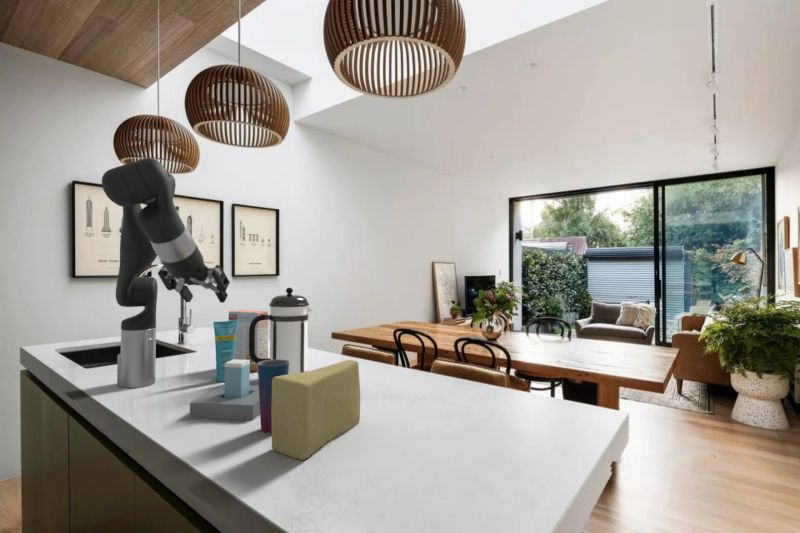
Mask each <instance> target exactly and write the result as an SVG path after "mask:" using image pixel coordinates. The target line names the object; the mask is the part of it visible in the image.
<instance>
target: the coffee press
mask: <svg viewBox="0 0 800 533" xmlns="http://www.w3.org/2000/svg"><path fill="white" fill-rule="evenodd" d="M293 292H294V290H293V288H292V287H287V288H286V290H285V293H286V294H283V295H276V296H274V297H272V299H271V301H270V303H269V308H270V314H268V315H260V316H257V317H255V318H254V319H253V320H252V322H251V324H250V328H249V355H250V358H251V359H252V360H253V361H254V362H255V363H259V362H261V361H265V360H273V359H281V360H287V361H289V371H288V374H295V373H302V372H307V369H308V320H309V312H314V310H313V308H312V307H311V305H310V303H309V302H308V299H307V298H306V297H305V296H303V295H298V294H297V295H296V294H293ZM261 320H268V321H269V325H270V328H269V329H270V330H269V334H270V336H269V342H270V343H269V357H268V359H261V358H258V357H257V356H256V354H255V326H256V324H257V323H258V322H259V321H261Z"/></svg>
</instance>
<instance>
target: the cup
mask: <svg viewBox="0 0 800 533" xmlns="http://www.w3.org/2000/svg"><path fill="white" fill-rule="evenodd" d="M288 371H289V361H287V360H281V359H273V360H265V361H261V362H259V363H258V371H257V376H258V377H257V379H258V386H259V400H260V415H259V416H260V431H261V432H262V434H268V433H271V434H272V424H271V404H272V379H273V378H274V377H277V376H282V375H288Z"/></svg>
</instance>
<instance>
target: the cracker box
mask: <svg viewBox="0 0 800 533" xmlns="http://www.w3.org/2000/svg"><path fill="white" fill-rule="evenodd" d="M260 315H269V311H265V310H263V311H262V310H248V309H247V310H246V309H245V310H244V309H236V310H229V311H228V321H232V320H238V323H237V330H236V340H235V352H234V359H238V360H250V372H255V373H256V372H257V373H258V363H255V362H254V361H253V360H252V359H251V358H250V355H249V328H250V324H251V322H252V320H253V319H254V318H255V317H257V316H260ZM255 354H256V356H257V357H258V358H261V359H268V358H269V320H261V321H259V322H258V323H257V324H256V326H255Z"/></svg>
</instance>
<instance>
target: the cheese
mask: <svg viewBox="0 0 800 533" xmlns="http://www.w3.org/2000/svg"><path fill="white" fill-rule="evenodd" d="M359 369H360V367H359V362H358V361H357V360H352V359H348V360H347V359H346V360H343V361H339V362H336V363H334V364H329V365H327V366H322V367H319V368H316V369H313V370H308V371H307V370H306V372H302V373H295V374H288V375H282V376H277V377H274V378H273V379H272V404H271V424H272V433H271V448H272V450H273V451H275V452H277V453H279V454H281V455H284V456H287V457H290V458H293V459H296V460H300V461H304V460H306V459H308V458H310V457H311V456H312V455H313V454H314V453H316V452H317V451H318V450H319V449H321V448H322V447H323V446H324V445H326V444H327V443H328V442H330V441H331V440H333V439H335V438H337V437H338V436H340V435H343V434H344V433H346V432H347V431H349V430H350V429H352V428H353V427H355V426H357V425H358V424H359V423H360V421H361V386H360V385H361V382H360V381H361V380H360V371H359Z"/></svg>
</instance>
